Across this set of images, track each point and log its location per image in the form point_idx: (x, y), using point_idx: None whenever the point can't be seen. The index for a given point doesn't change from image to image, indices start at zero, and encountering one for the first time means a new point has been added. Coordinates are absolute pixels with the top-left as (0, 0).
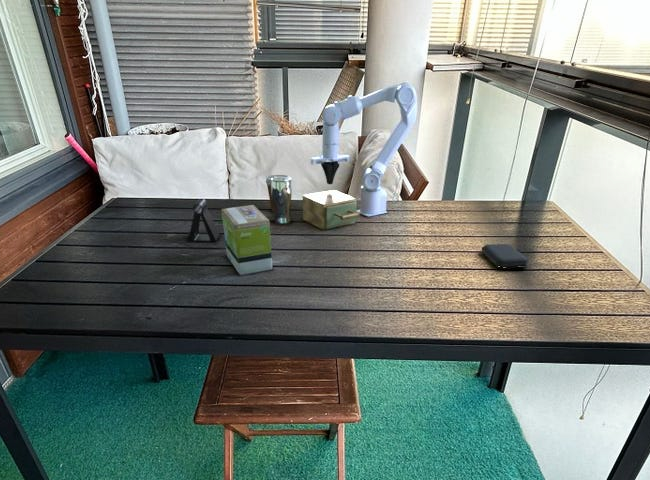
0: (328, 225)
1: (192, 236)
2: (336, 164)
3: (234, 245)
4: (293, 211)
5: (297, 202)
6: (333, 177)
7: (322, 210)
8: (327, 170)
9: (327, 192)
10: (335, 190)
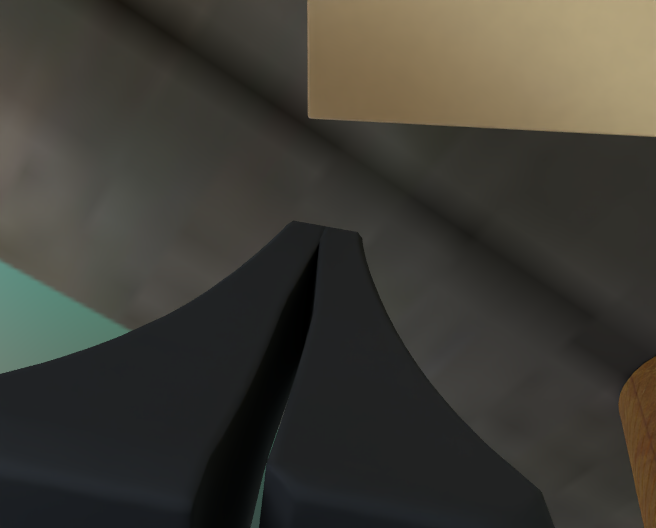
0: None
1: None
2: (57, 479)
3: None
4: (631, 314)
5: None
6: (260, 266)
7: None
8: (460, 434)
9: (539, 38)
10: (312, 69)
